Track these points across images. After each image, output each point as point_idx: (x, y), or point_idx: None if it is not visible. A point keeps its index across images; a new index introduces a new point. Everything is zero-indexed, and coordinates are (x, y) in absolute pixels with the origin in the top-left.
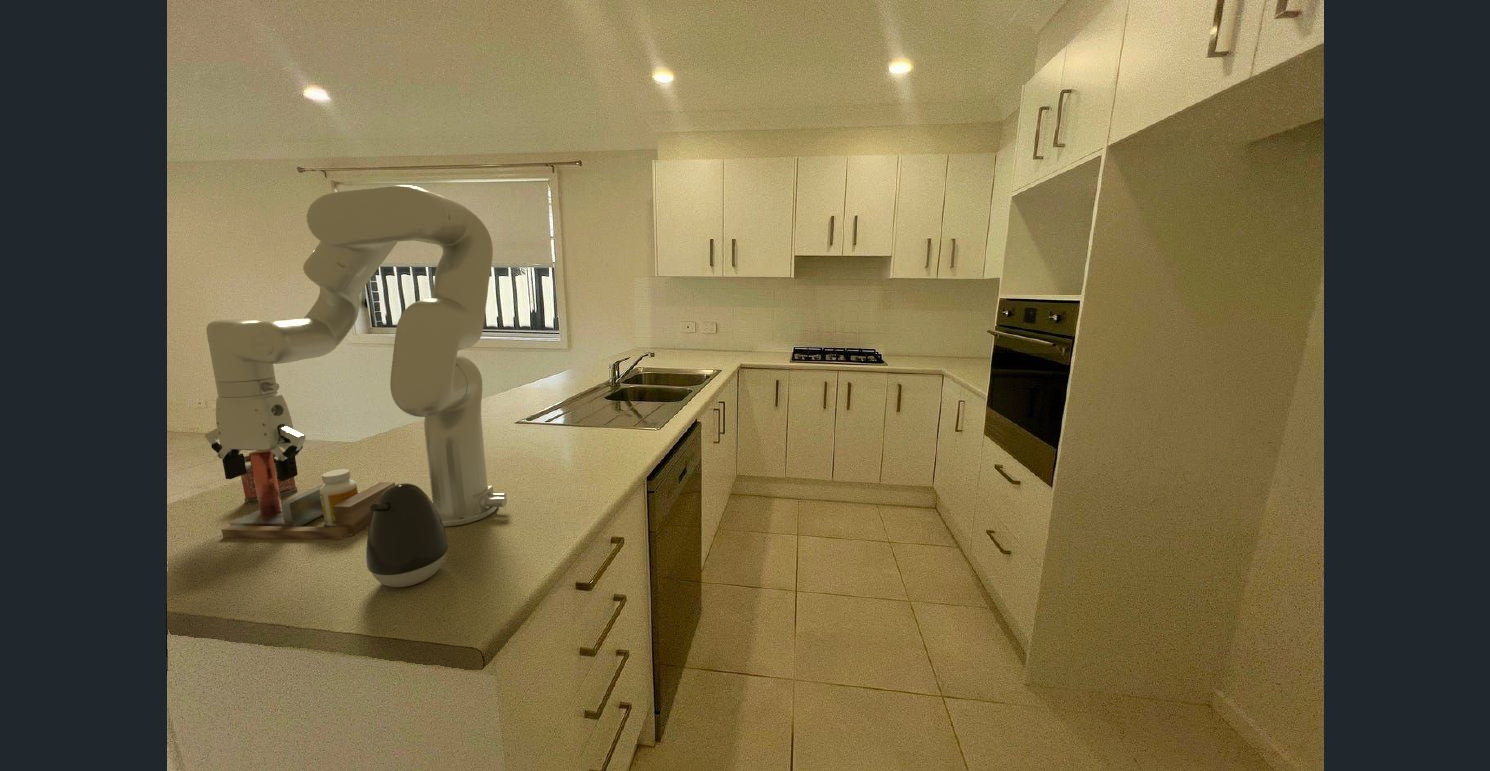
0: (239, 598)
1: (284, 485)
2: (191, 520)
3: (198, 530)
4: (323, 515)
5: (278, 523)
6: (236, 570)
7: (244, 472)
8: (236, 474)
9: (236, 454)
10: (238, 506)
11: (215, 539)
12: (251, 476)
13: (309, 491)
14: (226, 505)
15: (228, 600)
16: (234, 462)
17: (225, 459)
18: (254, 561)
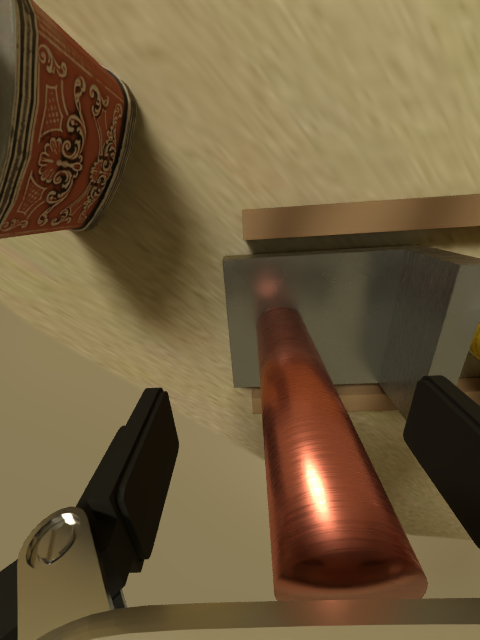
0: (456, 519)
1: (107, 126)
2: (75, 338)
3: (159, 377)
4: (469, 352)
5: (360, 382)
6: (392, 477)
7: (166, 402)
8: (171, 434)
9: (115, 538)
10: (82, 251)
11: (244, 405)
12: (21, 221)
13: (448, 348)
14: (36, 247)
15: (444, 522)
16: (149, 499)
17: (140, 567)
18: (400, 458)
